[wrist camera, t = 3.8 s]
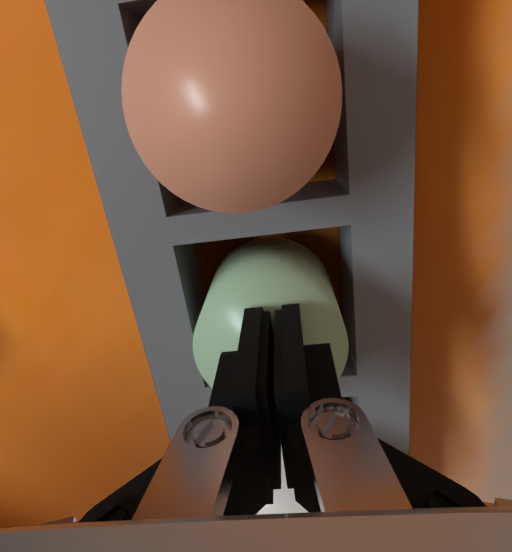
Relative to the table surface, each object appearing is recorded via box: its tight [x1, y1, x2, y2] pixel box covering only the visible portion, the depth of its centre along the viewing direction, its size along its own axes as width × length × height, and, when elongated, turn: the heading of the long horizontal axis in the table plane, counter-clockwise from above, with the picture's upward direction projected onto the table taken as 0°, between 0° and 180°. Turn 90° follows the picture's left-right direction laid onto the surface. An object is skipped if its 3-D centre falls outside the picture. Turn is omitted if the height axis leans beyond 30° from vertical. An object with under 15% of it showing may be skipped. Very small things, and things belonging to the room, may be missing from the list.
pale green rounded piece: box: [193, 237, 349, 388], centre depth 14 cm, size 5×5×4 cm
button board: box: [44, 0, 418, 456], centre depth 16 cm, size 24×10×3 cm, turn 8°
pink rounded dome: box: [121, 0, 342, 214], centre depth 10 cm, size 5×5×4 cm
